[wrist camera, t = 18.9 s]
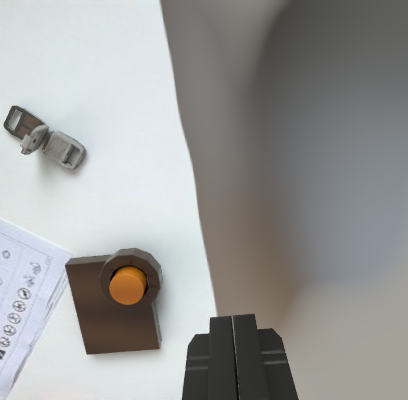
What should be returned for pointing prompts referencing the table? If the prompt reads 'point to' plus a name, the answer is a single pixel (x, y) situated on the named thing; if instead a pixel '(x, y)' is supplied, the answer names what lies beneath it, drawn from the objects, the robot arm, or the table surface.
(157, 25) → the table surface
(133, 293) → the light button
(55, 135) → the strap clip
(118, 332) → the switch block
